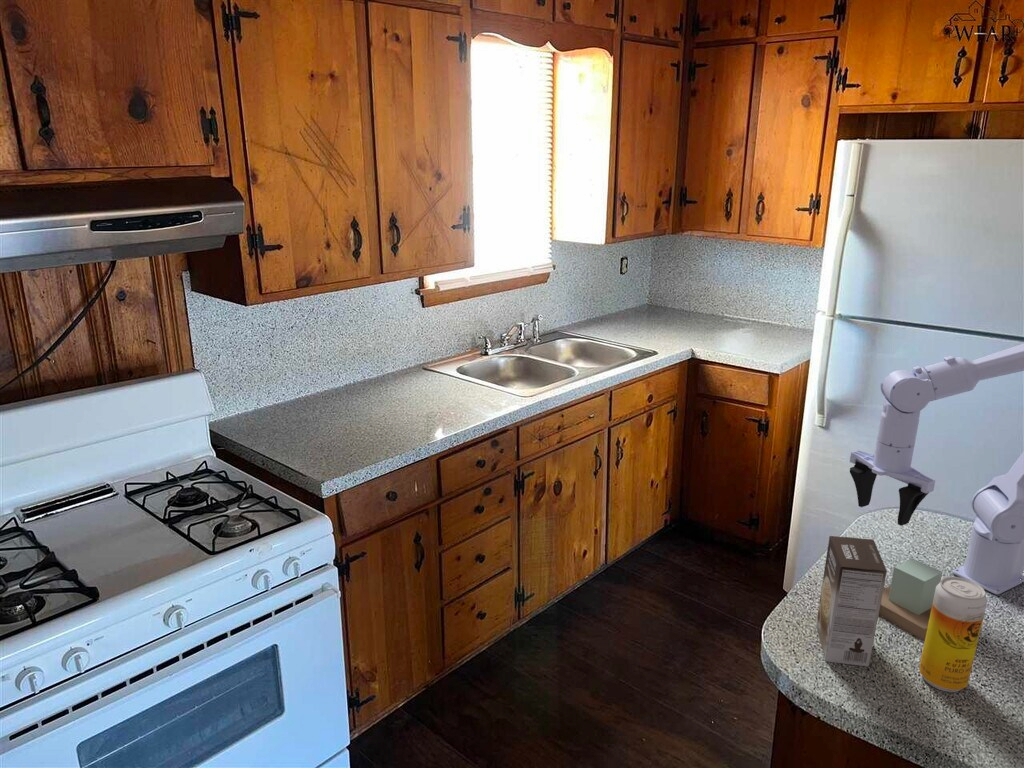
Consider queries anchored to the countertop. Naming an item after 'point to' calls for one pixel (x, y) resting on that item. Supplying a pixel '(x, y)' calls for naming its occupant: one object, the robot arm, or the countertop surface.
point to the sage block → (914, 585)
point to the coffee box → (850, 600)
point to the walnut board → (904, 616)
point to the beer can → (952, 633)
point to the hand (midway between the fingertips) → (882, 514)
